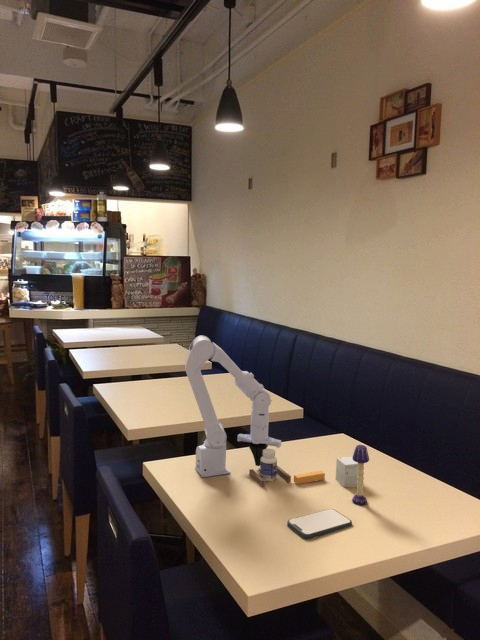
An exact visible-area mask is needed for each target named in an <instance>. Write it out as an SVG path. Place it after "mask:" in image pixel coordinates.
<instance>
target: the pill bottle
mask: <svg viewBox="0 0 480 640" xmlns="http://www.w3.org/2000/svg"><path fill="white" fill-rule="evenodd" d="M277 466H278V459H277V457H276V449H273V448H266V449H264V450H263V456H262V457H261V459H260V466H259V476H260V477H261V478H263V479H264V480H265V482H266V481H267V482H269V481H270V482H271V481H272V482H273V481H274V480H276V479H277V476H278V474H277Z"/></svg>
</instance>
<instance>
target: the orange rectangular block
mask: <svg viewBox="0 0 480 640" xmlns="http://www.w3.org/2000/svg"><path fill="white" fill-rule="evenodd" d="M325 475H326V473H325V472H324V471H323V470H317V471H313V472H307V473H306V472H305V473H300V474H294V475H293V482H294V484H295V485H300V484H305V483H310V482H311V483H312V482H316V481H323V480H325Z"/></svg>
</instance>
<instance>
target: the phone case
mask: <svg viewBox="0 0 480 640" xmlns="http://www.w3.org/2000/svg"><path fill="white" fill-rule="evenodd" d="M286 523H287V524H286V526H287V527H288V528H289V529H290V530H291V531H293V532H294V533H295V534H297V535H298V536H299V537H300V538H302V539H304V540H312V539H315V538H318V537H321V535H322V536H324V535H328V534H330V533H334V532H337V531H339V530H343V529H346V528H349V527H352V526H353V522H352V520H351V519H350V518H348V517H347V516H345V515H344V514H342V513H340V512H339V511H338V510H336V509H333V508H328V509H325V510H324V509H323V510H321V511H317V512H313V513H310V514H306V515H303V516H298V517H294V518H290V519H288V520H287V522H286Z"/></svg>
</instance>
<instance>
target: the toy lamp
mask: <svg viewBox="0 0 480 640" xmlns="http://www.w3.org/2000/svg"><path fill="white" fill-rule="evenodd" d="M352 457H353V460H354V461H355V462H358V472H357V474H358V476H357V480H358V481H357V485H358V486H356V494H355V495H354V496H352V499H351V501H352V503H353V504H354V505H358V506H365V505H367V504H368V499H367V497H366V496H365V495H364V491H363V490H364V479H365V477H364V474H365V472H364V470H365V466H364V465H365V463H368V462H369V461H370V456H369V451H368V448H367V446H366V445H363V444H358V445H356V446H355V449H354V451H353V453H352Z"/></svg>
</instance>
